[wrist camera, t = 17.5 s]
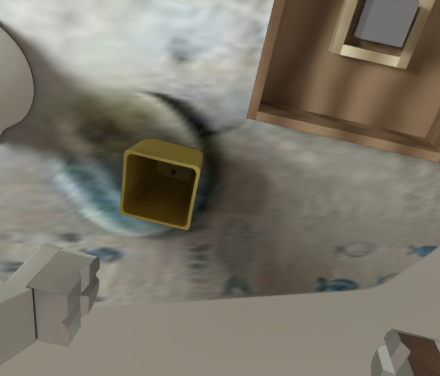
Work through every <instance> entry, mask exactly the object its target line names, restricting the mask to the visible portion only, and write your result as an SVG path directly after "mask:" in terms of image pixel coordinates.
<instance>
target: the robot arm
mask: <svg viewBox="0 0 440 376" xmlns="http://www.w3.org/2000/svg"><path fill="white" fill-rule="evenodd" d="M33 95H34V85H33V78H32V74H31V70H30V67H29V65H28V62H27V60H26V58H25V56H24V54H23V53H22V51H21V49H20V48H19V47H18V45H17V44H16V43H15V41H14V40H13V39H12V38H11V37H10V36H9V35H8V34H7V33H6V32H5V31H4V30H3V29H2V28H1V27H0V135H1V134H2V132H3V131H4V130H5V129H6V128H8V127H10V126H13V125H15V124H17V123H18V122H20V121H21V120H22V119H23V118H24V117H25V116H26V115H27V113H28V112H29V110H30V108H31V105H32V101H33ZM99 268H100V259H99V258H98V257H96V256H93V255H89V254H85V253H82V252H78V251H74V250H71V249H67V248H61V247H58V246H54V245H51V244H47V243H46V244H44V245H42V246H40V247H39V248H38V249H37V250H36V251H35V252H34V254H33V255H32V256H31V257H30V258H29V259H28V260H27V261H26V262H25V263H24V264H23V265H22V266H21V267H20V268H19V269H18V270H17V271H16V272H15V273H14V274H13V275H12V276H11V277H10V278H9V279H8V281H7V282H2V281H0V365H1V364H3V363H5V362H6V361H8V360H9V359H11V358H12V357H14V356H15V355H17V354H18V353H20V352H21V351H23V350H24V349H26V348H27V347H29V346H31V345H32V344H34V343H35V342H36V340H39V341H43V342H48V343H52V344H56V345H61V346H65V347H68V346H69V345H70V343H71V341H72V340H73V338H74V336H75V335H76V333H77V331H78V330H79V328H80V325H81V317H82V316H84V315H86V314H88V313H89V311H90V310H91V308H92V306H93V304H94V301H95V299H96V296H97V293H98V288H99V279H98V278H97V276H96V275H95V274H96V273H97V271H98V270H99ZM384 340H385V343H386V345H385V346H383V347H380V348H379V349H377V350H376V352H375V354H374V356H373V359H372V364H371V376H440V340H438V339H433V338H428V337H424V336H419V335H416V334H411V333H407V332H403V331H398V330H394V329H391V330H390V331H388V332H387V334H386V335H385V337H384Z"/></svg>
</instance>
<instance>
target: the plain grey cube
mask: <svg viewBox="0 0 440 376" xmlns="http://www.w3.org/2000/svg"><path fill="white" fill-rule="evenodd" d="M419 3H420V1H415V0H364V1H363V4H362V7H361V10H360V13H359V16H358V19H357V22H356V24H355V27H354V30H353V33H352V35H354V36H356V37H358V38H361V39H365V40H370V41H374V42H379V43H383V44H388V45H392V46H397V47H401V48H402V45H403V43H404V40H405V38H406V35H407V33H408V30H409V28H410V26H411V23H412V21H413V18H414V16H415V13H416V11H417V8H418V6H419Z"/></svg>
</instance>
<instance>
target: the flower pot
mask: <svg viewBox="0 0 440 376" xmlns="http://www.w3.org/2000/svg"><path fill="white" fill-rule="evenodd" d="M202 162H203V154H202V152H201V151H200V150H198V149H196V148H191V147H187V146H183V145H179V144H175V143H170V142H166V141H162V140H158V139H144V140H142V141H140V142H138V143H137V144H135V145H133V146H132V147H130V148H129V149H127V150H126V151H125V152H124V160H123V181H122V191H121V202H120V213H121V214H122V215H125V216H129V217H134V218H138V219H142V220H147V221H150V222H155V223H159V224H163V225H167V226H170V227H175V228H179V229H184V230H188V229H189V227H190V223H191V218H192V213H193V208H194V202H195V197H196V192H197V187H198V182H199V177H200V172H201V167H202ZM173 170H175V171H176V173H175V174H174V173H172V171H173Z"/></svg>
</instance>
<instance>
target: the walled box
mask: <svg viewBox="0 0 440 376" xmlns="http://www.w3.org/2000/svg"><path fill="white" fill-rule="evenodd" d="M363 1H364V0H274V4H273V8H272V12H271V16H270V21H269V25H268V29H267V33H266V38H265V42H264V46H263V50H262V55H261V59H260V63H259V67H258V72H257V76H256V80H255V84H254V89H253V93H252V97H251V101H250V106H249V110H248V114H247V118H248V119H252V120H257V121H261V122H265V123H270V124H274V125H278V126H283V127H287V128H291V129H296V130H300V131H305V132H309V133H313V134H318V135H322V136H326V137H331V138H335V139H339V140H344V141H348V142H352V143H357V144H361V145H365V146H370V147H374V148H379V149H383V150H387V151H392V152H396V153H400V154H405V155H409V156H413V157H418V158H422V159H426V160H431V161H435V162H440V0H415V1H420V3H419V6H418V8H417V11H416V13H415V16H414V18H413V21H412V23H411V26H410V28H409V30H408V33H407V35H406V38H405V40H404V43H403V45H402V48H401V47H397V46H392V45H388V44H383V43H379V42H374V41H370V40H365V39H361V38H358V37H356V36H354V35H352V33H353V30H354V27H355V24H356V22H357V19H358V16H359V13H360V10H361V7H362V4H363Z"/></svg>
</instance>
